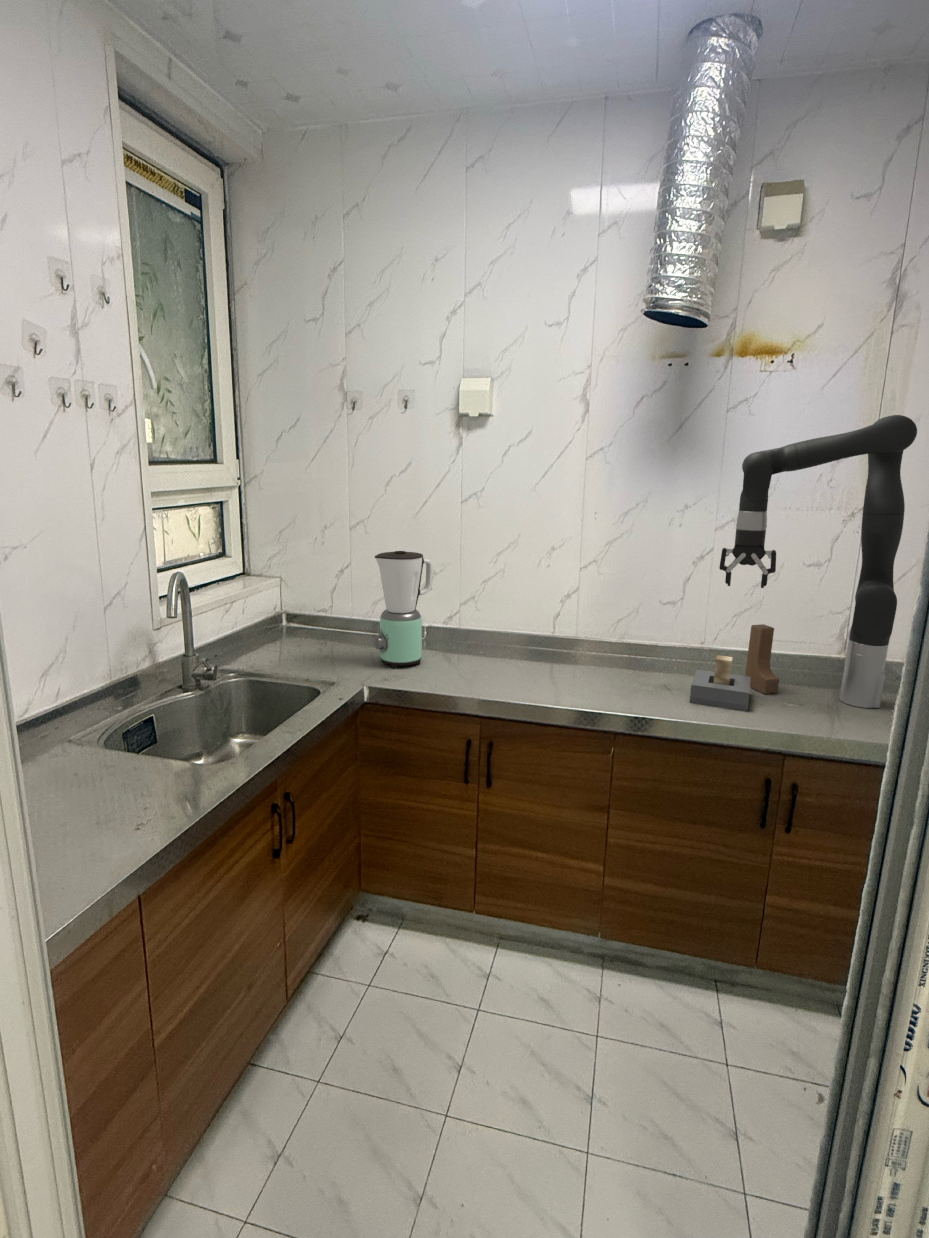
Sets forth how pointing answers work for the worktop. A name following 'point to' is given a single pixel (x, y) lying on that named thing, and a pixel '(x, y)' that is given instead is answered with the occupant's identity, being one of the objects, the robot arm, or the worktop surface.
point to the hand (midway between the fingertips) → (745, 586)
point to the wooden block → (761, 660)
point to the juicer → (401, 607)
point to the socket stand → (720, 691)
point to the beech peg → (722, 670)
